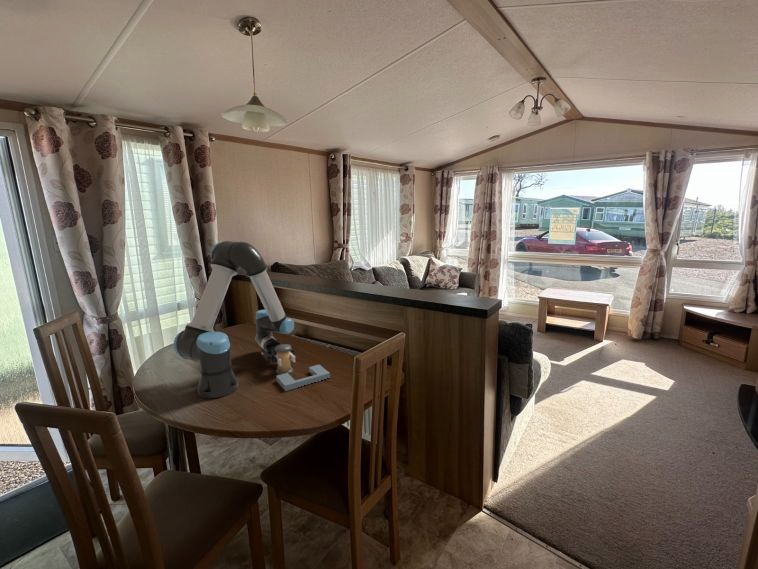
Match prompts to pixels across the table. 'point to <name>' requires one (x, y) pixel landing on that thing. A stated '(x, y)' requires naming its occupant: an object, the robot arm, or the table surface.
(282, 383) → the notched board
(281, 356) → the bobbin
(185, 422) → the table surface
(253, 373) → the table surface
